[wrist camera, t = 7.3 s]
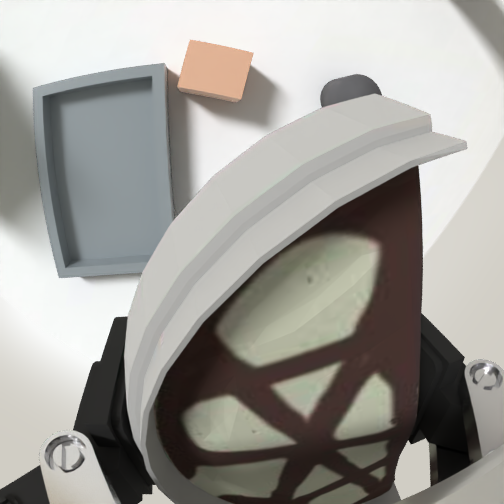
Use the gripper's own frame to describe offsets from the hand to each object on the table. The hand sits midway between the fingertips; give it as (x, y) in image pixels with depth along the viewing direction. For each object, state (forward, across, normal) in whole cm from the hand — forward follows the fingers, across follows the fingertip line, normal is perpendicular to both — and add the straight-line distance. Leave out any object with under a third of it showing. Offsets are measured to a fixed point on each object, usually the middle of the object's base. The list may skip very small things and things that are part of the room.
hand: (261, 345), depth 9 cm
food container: (+6, 0, 0) cm, 6 cm away
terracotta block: (+22, 0, -11) cm, 24 cm away
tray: (+22, +10, -3) cm, 24 cm away
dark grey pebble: (+22, -12, -8) cm, 26 cm away
